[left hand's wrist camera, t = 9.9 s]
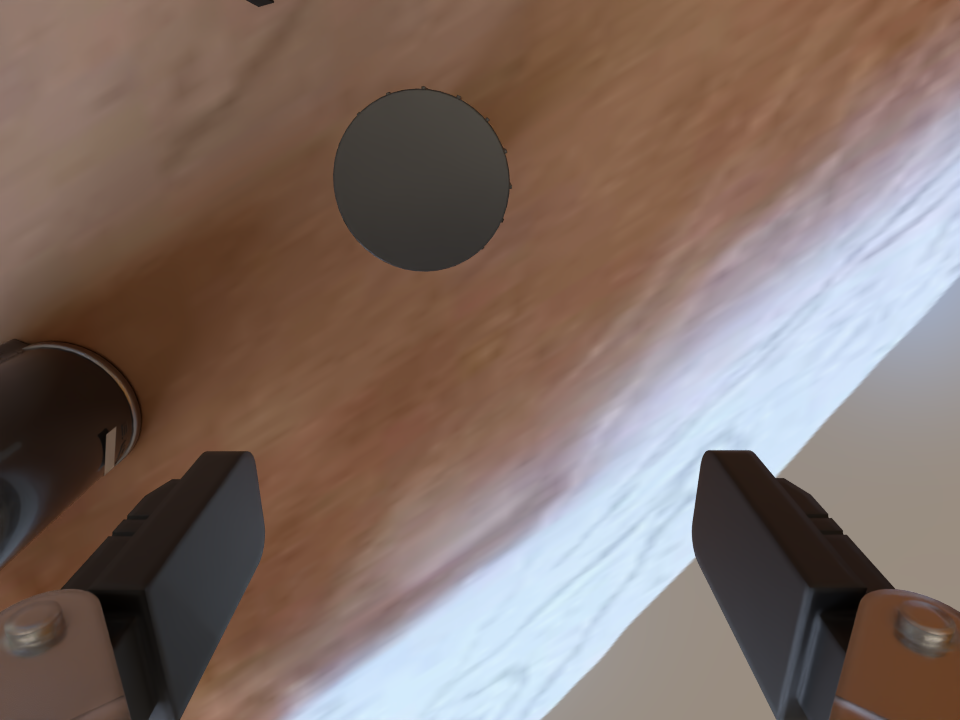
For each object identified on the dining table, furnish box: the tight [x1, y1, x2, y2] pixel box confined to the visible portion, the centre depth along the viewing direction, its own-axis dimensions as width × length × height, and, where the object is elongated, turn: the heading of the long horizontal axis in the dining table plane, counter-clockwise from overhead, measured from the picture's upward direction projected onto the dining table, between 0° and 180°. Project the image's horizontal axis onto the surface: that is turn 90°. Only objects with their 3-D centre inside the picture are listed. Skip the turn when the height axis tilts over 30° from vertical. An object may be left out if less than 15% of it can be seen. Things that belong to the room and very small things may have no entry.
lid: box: [333, 86, 512, 271], centre depth 19 cm, size 5×5×2 cm
